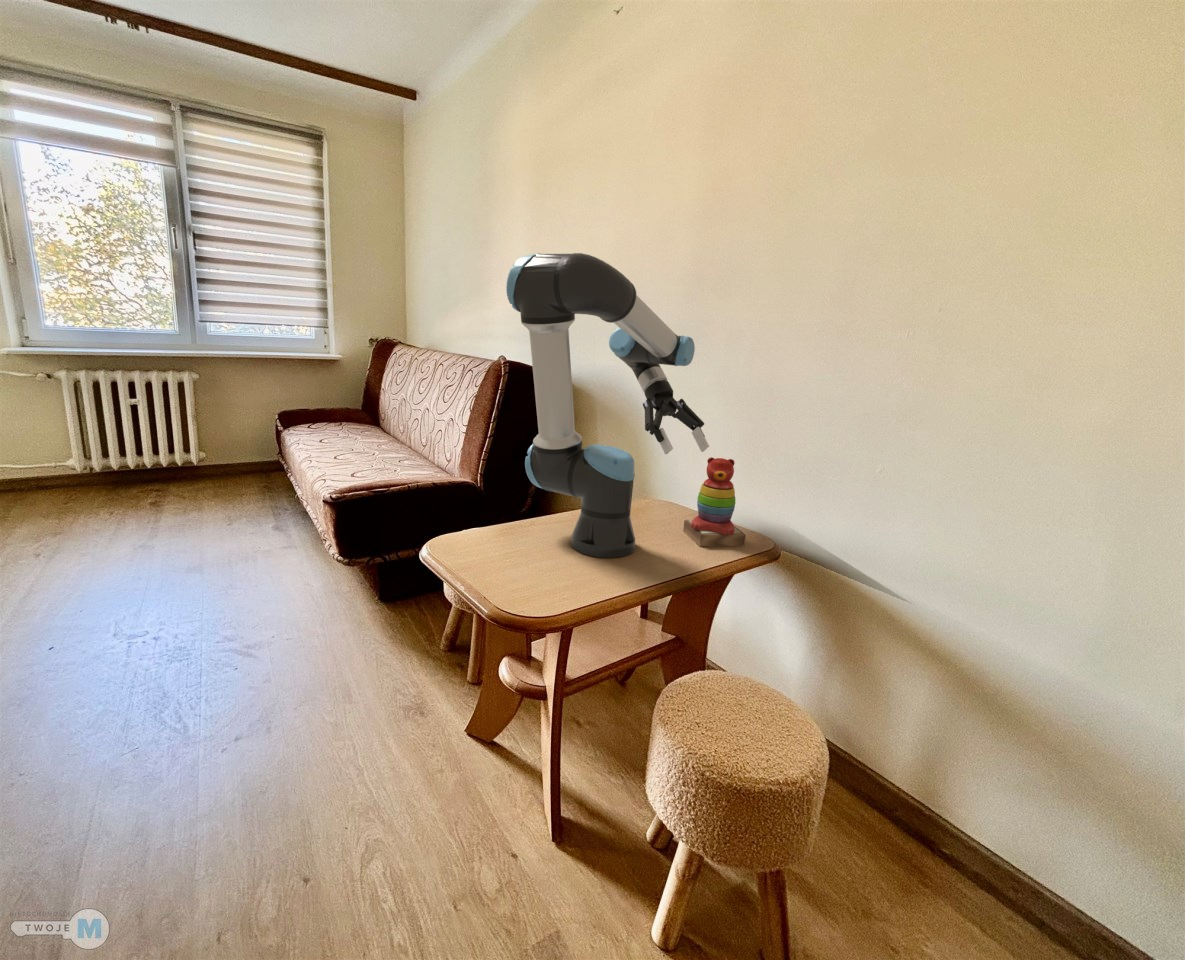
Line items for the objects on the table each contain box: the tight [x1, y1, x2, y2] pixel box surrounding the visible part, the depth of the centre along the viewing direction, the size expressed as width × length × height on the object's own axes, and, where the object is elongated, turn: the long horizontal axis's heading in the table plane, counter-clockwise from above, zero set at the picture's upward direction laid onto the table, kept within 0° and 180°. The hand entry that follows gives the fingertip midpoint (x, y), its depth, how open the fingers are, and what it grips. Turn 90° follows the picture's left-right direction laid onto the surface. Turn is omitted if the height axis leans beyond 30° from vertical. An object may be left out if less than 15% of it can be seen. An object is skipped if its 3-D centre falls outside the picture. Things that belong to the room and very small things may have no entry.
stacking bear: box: [691, 457, 736, 535], centre depth 137 cm, size 11×10×18 cm
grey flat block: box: [682, 519, 746, 548], centre depth 140 cm, size 12×11×3 cm
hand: (687, 450), depth 145 cm, fingers open, 13 cm apart
